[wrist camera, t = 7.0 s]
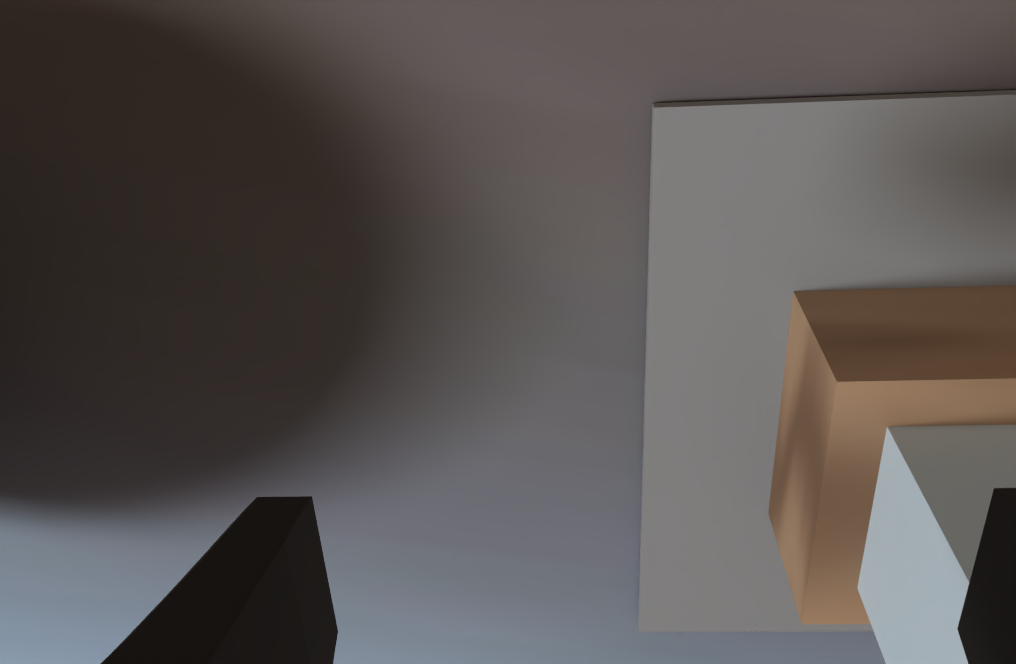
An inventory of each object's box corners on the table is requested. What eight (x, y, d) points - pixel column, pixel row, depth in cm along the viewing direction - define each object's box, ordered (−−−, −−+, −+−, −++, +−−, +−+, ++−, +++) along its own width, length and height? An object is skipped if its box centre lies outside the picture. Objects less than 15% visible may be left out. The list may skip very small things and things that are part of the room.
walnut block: (1025, 510, 22) (1099, 622, 19) (768, 513, 23) (801, 624, 20) (1089, 283, 19) (1189, 375, 16) (793, 290, 20) (836, 381, 17)
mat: (1105, 621, 25) (1111, 630, 24) (638, 623, 25) (639, 632, 25) (1304, 79, 18) (1316, 84, 17) (652, 103, 18) (653, 108, 18)
